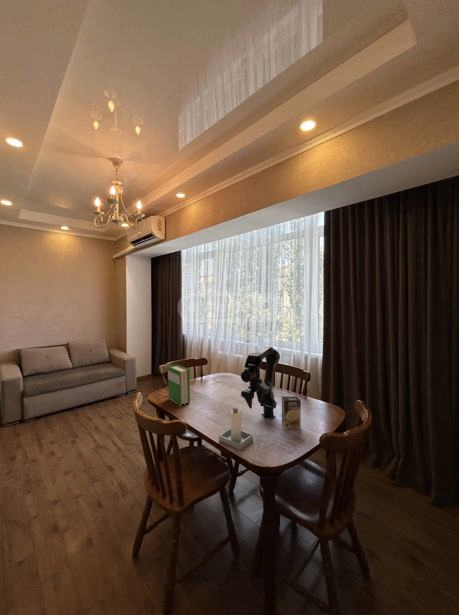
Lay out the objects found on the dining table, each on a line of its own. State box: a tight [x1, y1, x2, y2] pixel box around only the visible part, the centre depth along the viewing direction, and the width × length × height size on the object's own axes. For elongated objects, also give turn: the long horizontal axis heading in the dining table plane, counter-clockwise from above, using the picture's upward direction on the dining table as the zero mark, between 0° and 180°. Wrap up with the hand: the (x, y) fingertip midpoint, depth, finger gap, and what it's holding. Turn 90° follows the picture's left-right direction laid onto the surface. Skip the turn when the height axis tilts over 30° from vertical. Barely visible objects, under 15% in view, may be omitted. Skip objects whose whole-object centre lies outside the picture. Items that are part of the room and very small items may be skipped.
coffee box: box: [281, 395, 302, 430], centre depth 138 cm, size 9×6×16 cm
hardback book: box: [167, 364, 191, 407], centre depth 176 cm, size 18×7×24 cm, turn 39°
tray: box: [218, 427, 254, 452], centre depth 126 cm, size 11×13×3 cm
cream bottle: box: [229, 407, 242, 442], centre depth 126 cm, size 5×5×16 cm
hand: (255, 405), depth 137 cm, fingers open, 9 cm apart
